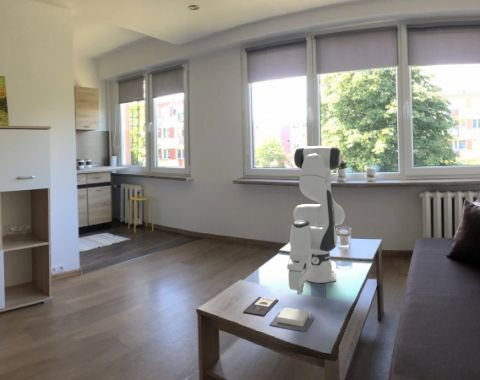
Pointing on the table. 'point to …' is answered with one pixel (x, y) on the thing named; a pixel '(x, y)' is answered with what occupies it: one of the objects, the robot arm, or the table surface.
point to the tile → (293, 316)
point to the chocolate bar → (261, 306)
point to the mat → (290, 326)
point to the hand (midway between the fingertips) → (300, 293)
